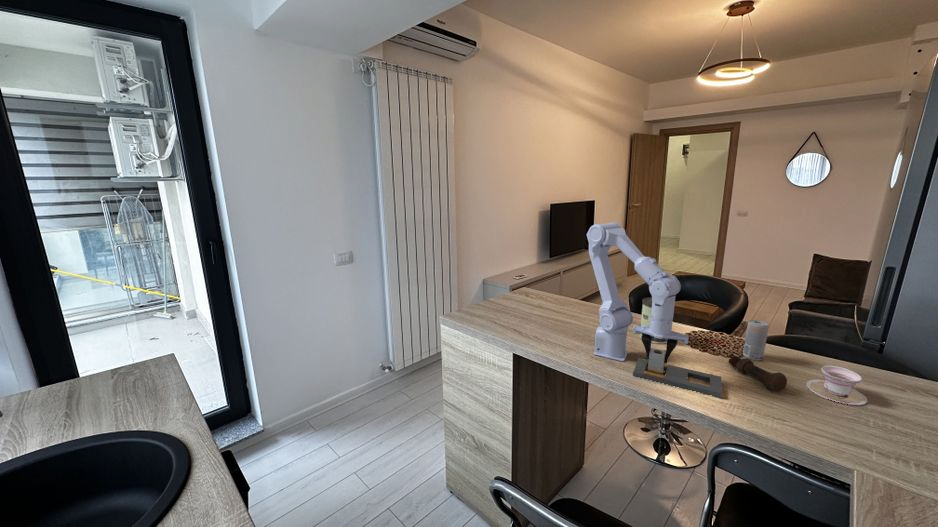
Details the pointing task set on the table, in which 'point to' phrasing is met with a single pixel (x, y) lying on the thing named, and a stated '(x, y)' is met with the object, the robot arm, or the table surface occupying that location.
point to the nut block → (656, 361)
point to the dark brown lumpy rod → (760, 373)
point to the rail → (681, 378)
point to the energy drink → (755, 340)
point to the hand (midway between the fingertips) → (657, 360)
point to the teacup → (839, 382)
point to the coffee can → (646, 319)
